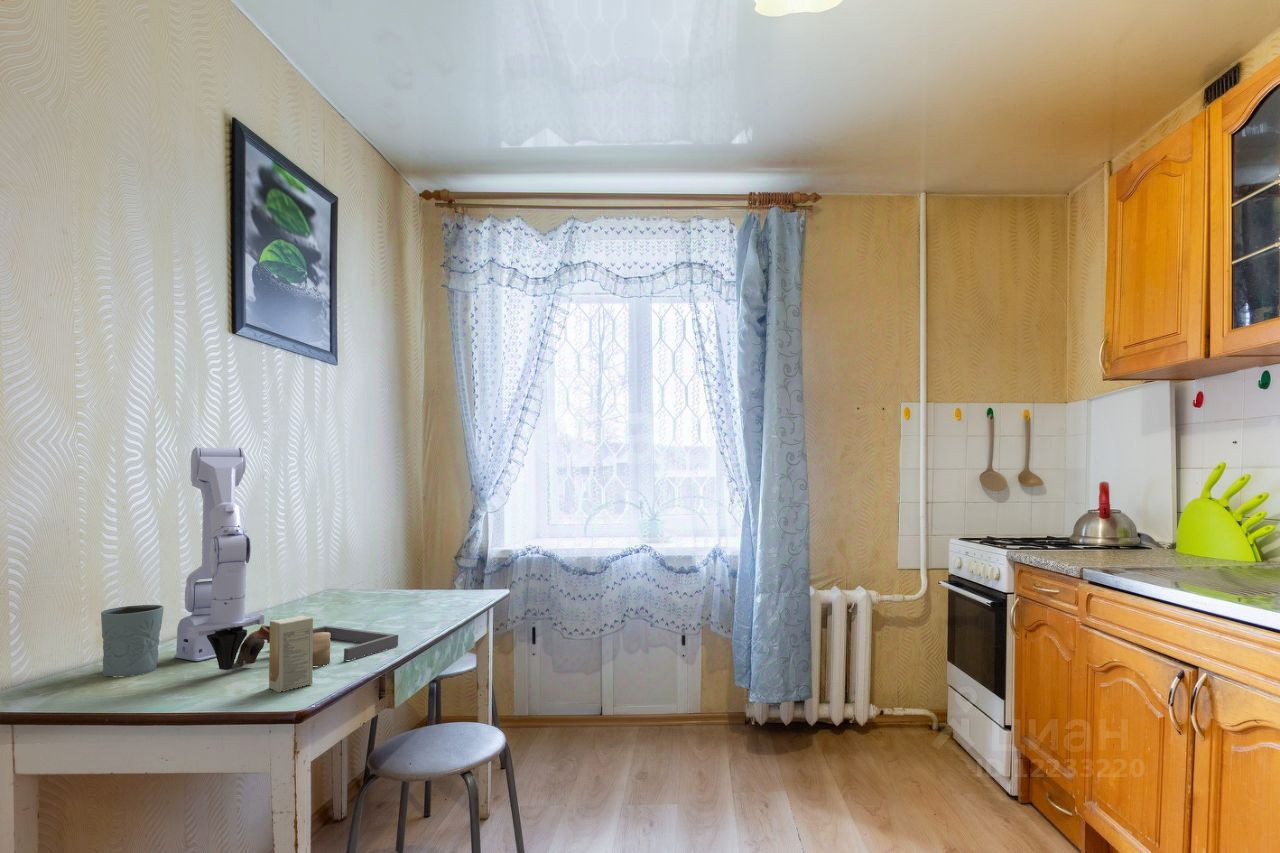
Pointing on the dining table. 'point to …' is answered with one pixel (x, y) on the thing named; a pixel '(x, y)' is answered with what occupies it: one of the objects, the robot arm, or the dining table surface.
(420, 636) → the dining table surface
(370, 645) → the frame
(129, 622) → the grey green plant pot
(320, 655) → the oak dowel
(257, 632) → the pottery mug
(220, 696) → the dining table surface
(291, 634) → the skincare box
